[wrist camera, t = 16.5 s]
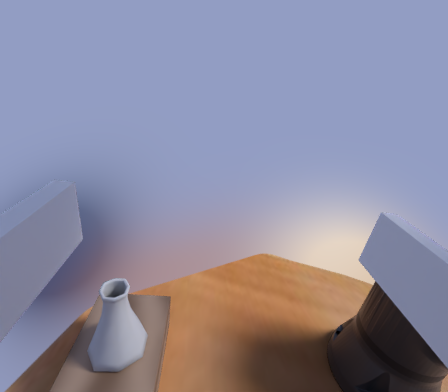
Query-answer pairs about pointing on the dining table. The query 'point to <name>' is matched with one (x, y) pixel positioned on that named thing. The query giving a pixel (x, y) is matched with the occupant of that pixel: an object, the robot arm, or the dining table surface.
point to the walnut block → (133, 374)
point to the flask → (116, 330)
